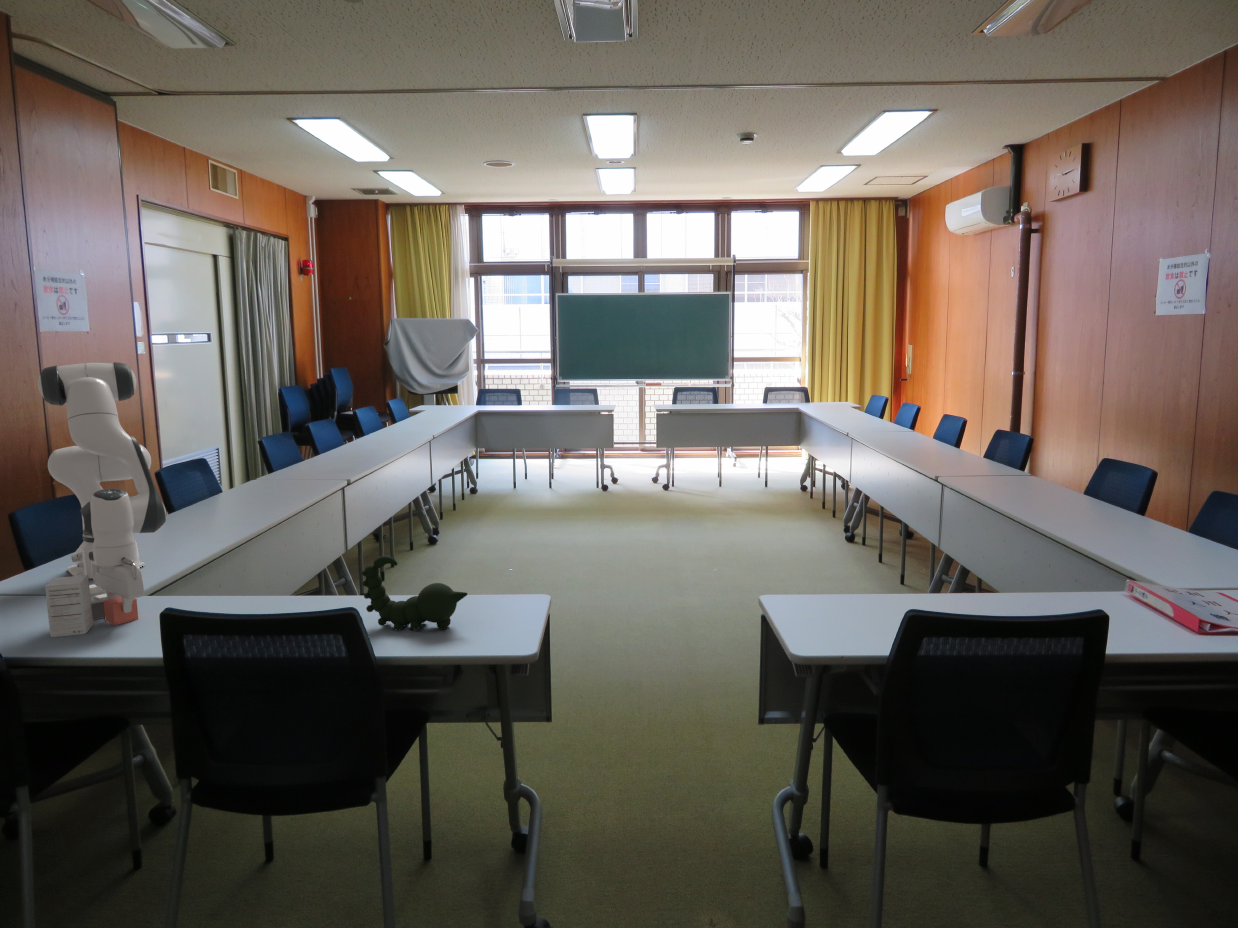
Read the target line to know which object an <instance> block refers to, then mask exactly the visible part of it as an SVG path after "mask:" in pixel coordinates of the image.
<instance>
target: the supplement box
mask: <svg viewBox="0 0 1238 928" xmlns="http://www.w3.org/2000/svg"><path fill="white" fill-rule="evenodd" d="M89 580H90V579H89V578H88V575H82V576H72V575H71V576H62V577H54V578H52V579H51V580H50V581H49V582H48V583H47V584H46V585H44V589H45V597H46V598H45V599H46V607H47V608H46V609H47V615H48V625H49V633H50V634H49V635H50V638H56V637H57V638H59V637H64V636H65V637H68V636H76V635H85V634H87V633H88V631H89V630H90V628H92V626H93V625H94V620H93V616H92V607H91V597H90V588H89V585H90V581H89Z"/></svg>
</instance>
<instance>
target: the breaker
mask: <svg viewBox="0 0 1238 928" xmlns="http://www.w3.org/2000/svg"><path fill="white" fill-rule="evenodd" d="M89 588H90V596H93V595H98V594H102V593H103V588H100V587H98V586H96V585H95V583H94V584H89Z"/></svg>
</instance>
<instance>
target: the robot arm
mask: <svg viewBox="0 0 1238 928" xmlns="http://www.w3.org/2000/svg"><path fill="white" fill-rule="evenodd" d="M137 382H138V381H137V377H136V375H135V373H134V371H133V370H132V368H131V366H130V365H128V364H127V363H122V362H116V361H114V362H113V363H112V362H111V363H110V362H85V363H76V364H75V363H74V364H66V365H59V366H58V365H51V366H48V367H44V368H43V369H42V370H41V371H40V373H39V377H38V380H37V388H38V392H39V393H40V395H41V397H42V398H43V400H44V401H45V402H46V403H47V404H50V405H52V406H60V407H63V406H64V405H66V417H67V418H66V419H67V425H68V430H69V431H68V432H69V435H70V437H71V440H72V442H73V443H74V444H75V445H72V446H67V447H65V446H64V447H62V448H58V449H55V450H54V451H52V452H51V454H50V455H49V458H48V460H47V469H48V472H49V475H50V476H51V477H52V478H53V479H54V480H55V481H57V482H58V483H60V484H63V486H66V487H67V488H68V489H70V491H72V493H73V494H74V495H75V497H76V498H77V499H78V501H79V504H80V507H81V508H80V510H79V511H80V514H81V520H82V521H81V522H82V526H81V527H82V528H81V530H82V532H83V533H82V540H83V542H82V543H81V544H80V545H79V547H78V548H77V549H76V551H75V553H74V554H71V557H70V558H71V562H72V563H75V564H72V565H70V566H67V571H68V572H69V574H70V575H71V576H82V575H88V578H89V580H91V579H92V580H93V582H94V584H95V585H96V586H98V587H100V588H103V589H105V590H106V595H107V597H108V599H113V598H117V595H120V596H122V600H123V605H121V608H122V611H123V612H125V613H128V612H131V611H132V602H133V599H134V598H135V599H138V598H140V597H143V596H144V593H145V587H144V579H143V574H142V571H141V568H143V567H145V566H146V565H145V562H144V561H140V555H139V549H138V543H137V541H136V538H135V536H134V534H149V533H153V534H154V533H155V532H157V531H159V529H161V528H162V526H164V524H165V523H166V521H167V511H166V507H165V504H164V502H163V501H162V499H161V496H160V494H159V492H158V490H157V487H156V485H155V482H154V479H153V476H152V474H151V471H150V469H151V466H152V457H151V454H150V452H149V450H148V449H147V448H146V447H145V446H143V445H142V444H140V443H139V441H138V440H137V439H136V438H135V436H133V435H130V434H128V433H127V432H126V431H125V430H124V428H123V427H122V425H121V422H120V419H119V412H118V409H117V405H116V401H118V402H121V401H126V400H129V399H131V398H133V396H134V395H135V392H136V389H137V386H138V385H137V384H138V383H137ZM128 480H132V481H133V483H134V487H135V489H136V492H137V494H136V495H131V496H129V494H128V492H127V491H126V490H123V489H120V488H103V487H102V485H101V482H112V481H113V482H115V481H128ZM144 565H145V566H144ZM142 566H143V567H142ZM140 567H141V568H140Z"/></svg>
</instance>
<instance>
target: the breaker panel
mask: <svg viewBox="0 0 1238 928" xmlns="http://www.w3.org/2000/svg"><path fill="white" fill-rule="evenodd" d="M102 594H106V590H105V589H103V593H102ZM102 594H98V595H102ZM95 596H97V595H93V596H90V597H91V607H92V616H93V621H94V620H97V619H102V618H105V612H104V602H103V601H104V600H108V599H104V600H100V601H99V600H97V599H95ZM117 597H121V596H120V595H117Z"/></svg>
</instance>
